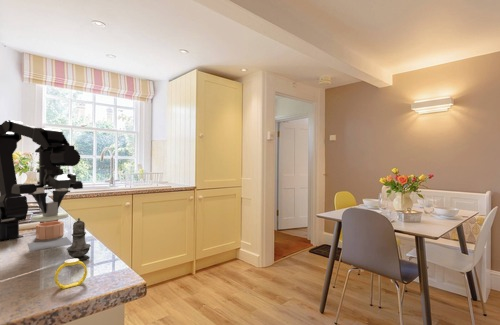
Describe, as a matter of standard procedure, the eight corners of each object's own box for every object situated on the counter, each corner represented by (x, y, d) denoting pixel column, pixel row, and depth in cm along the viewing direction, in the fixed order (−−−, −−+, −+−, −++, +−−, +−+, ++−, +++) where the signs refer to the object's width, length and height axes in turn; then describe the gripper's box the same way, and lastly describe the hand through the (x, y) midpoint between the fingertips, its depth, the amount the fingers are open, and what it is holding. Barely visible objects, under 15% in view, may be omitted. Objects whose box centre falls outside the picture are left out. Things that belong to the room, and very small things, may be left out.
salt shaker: (78, 264, 72) (78, 220, 72) (61, 262, 73) (61, 219, 73) (95, 256, 78) (95, 216, 78) (78, 255, 79) (78, 215, 79)
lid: (24, 219, 86) (24, 203, 86) (58, 214, 95) (58, 199, 95) (41, 222, 81) (41, 205, 81) (74, 216, 90) (74, 201, 90)
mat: (27, 244, 88) (27, 243, 88) (66, 238, 96) (66, 237, 96) (30, 253, 80) (30, 251, 80) (72, 245, 88) (72, 243, 88)
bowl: (31, 238, 95) (31, 224, 95) (56, 233, 102) (56, 220, 102) (43, 241, 92) (43, 227, 92) (68, 235, 99) (68, 222, 99)
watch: (85, 281, 62) (87, 256, 62) (86, 286, 60) (89, 259, 60) (53, 287, 58) (56, 260, 59) (54, 292, 56) (56, 264, 56)
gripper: (29, 166, 76) (29, 220, 76) (92, 165, 93) (92, 209, 93) (10, 166, 81) (10, 216, 81) (73, 165, 98) (73, 207, 98)
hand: (50, 212), depth 88 cm, fingers closed on lid, 3 cm apart
